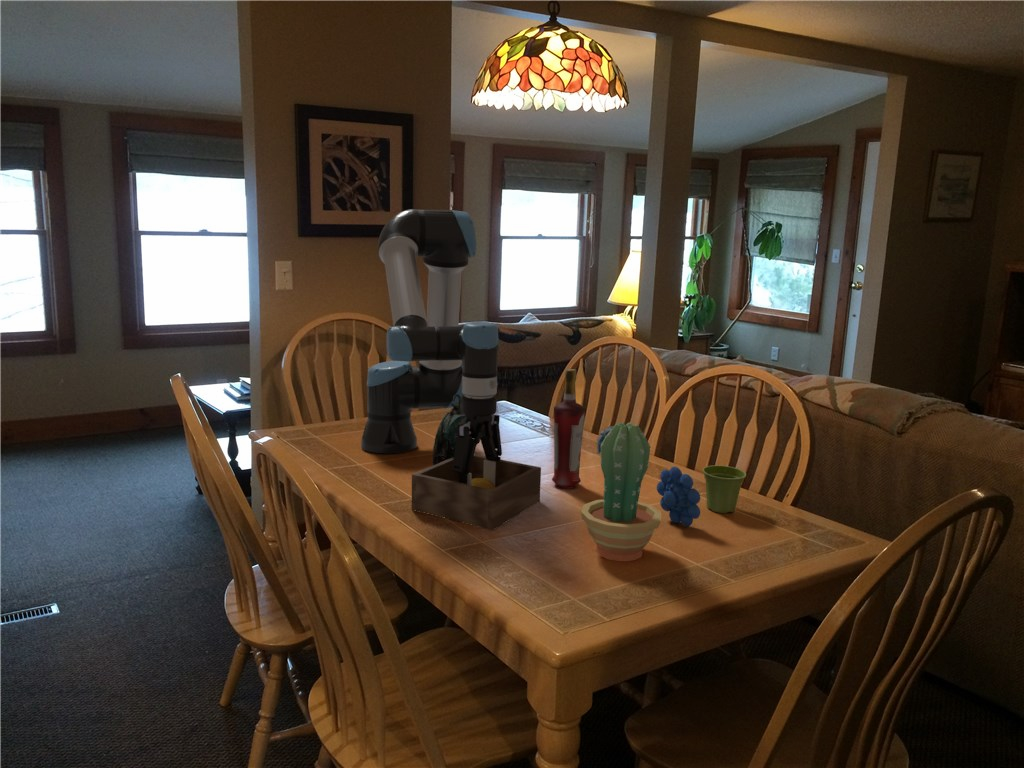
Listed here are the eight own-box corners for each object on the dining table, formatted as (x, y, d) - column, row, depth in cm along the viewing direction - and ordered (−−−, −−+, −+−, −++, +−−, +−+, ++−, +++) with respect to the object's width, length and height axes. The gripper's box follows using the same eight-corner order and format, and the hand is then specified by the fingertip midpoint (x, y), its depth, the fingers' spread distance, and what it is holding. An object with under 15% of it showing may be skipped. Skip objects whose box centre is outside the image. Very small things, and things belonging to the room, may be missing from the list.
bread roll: (494, 490, 180) (494, 473, 180) (499, 504, 172) (499, 486, 171) (457, 490, 179) (458, 473, 179) (460, 504, 171) (460, 487, 170)
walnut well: (411, 510, 172) (411, 474, 171) (463, 484, 190) (464, 452, 188) (492, 530, 162) (493, 492, 161) (539, 501, 180) (541, 467, 178)
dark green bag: (455, 463, 207) (457, 387, 203) (479, 465, 205) (481, 389, 201) (427, 486, 188) (427, 403, 184) (453, 489, 186) (454, 405, 182)
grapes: (641, 518, 171) (645, 464, 169) (663, 512, 175) (667, 459, 173) (683, 536, 162) (687, 479, 160) (705, 529, 166) (710, 473, 164)
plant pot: (744, 505, 181) (747, 468, 180) (741, 518, 173) (745, 480, 171) (702, 499, 184) (704, 463, 183) (697, 512, 176) (700, 475, 174)
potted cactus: (651, 536, 161) (659, 416, 156) (667, 569, 146) (677, 436, 141) (575, 535, 161) (580, 414, 156) (583, 567, 146) (589, 435, 141)
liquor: (556, 478, 196) (560, 366, 191) (585, 482, 194) (590, 369, 188) (546, 487, 190) (551, 371, 184) (576, 491, 187) (581, 374, 181)
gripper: (466, 406, 160) (464, 513, 164) (519, 388, 179) (516, 484, 183) (435, 401, 164) (434, 506, 168) (490, 384, 182) (488, 479, 187)
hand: (477, 495), depth 176 cm, fingers closed on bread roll, 9 cm apart
